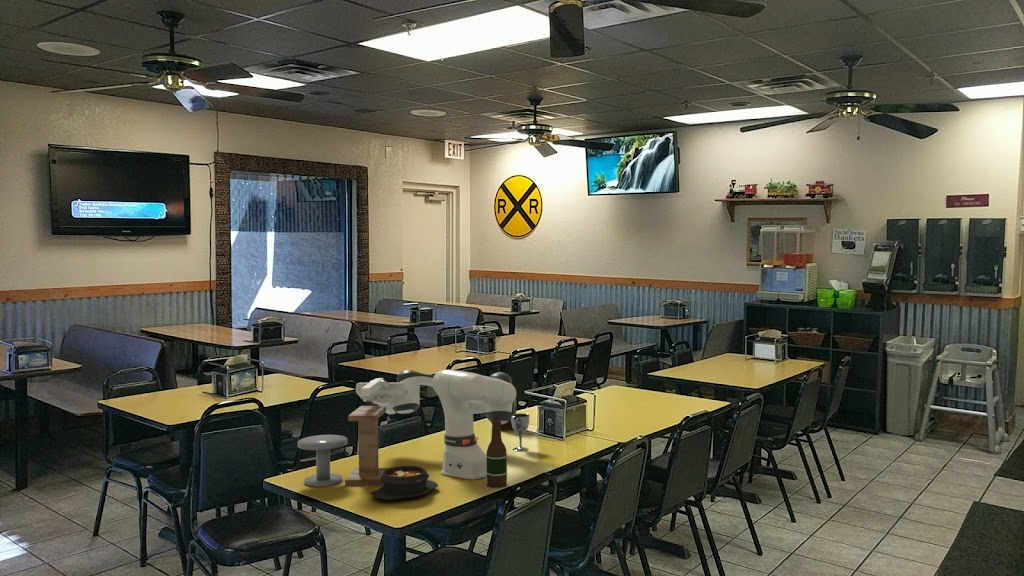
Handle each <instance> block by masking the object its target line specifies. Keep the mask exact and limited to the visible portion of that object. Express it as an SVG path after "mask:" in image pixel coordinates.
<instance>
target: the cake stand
mask: <svg viewBox="0 0 1024 576" xmlns="http://www.w3.org/2000/svg"><path fill="white" fill-rule="evenodd" d="M346 445H348V437H346V436H345V435H339V434H319V435H318V434H317V435H311V436H306V437H303V438H300V439H299V440H298V441H297V447H298V449H301V450H304V451H315V461H316V462H315V463H316V464H315V467H316V471H315V472H316V474H313V475H309V476H306V477H305V478H304V479H303V483H305V484H306V485H305V484H304V485H305V486H307V485H308V486H307V487H311V486H314V487H313V488H321V487H320V486H323V487H324V486H325V487H331V486H335V485H338V484H340V483H342V482H343V475H341V474H338V473H334V472H333V473H332V472H331V453H330V452H331V450H333V449H339V448H342V447H344V446H346ZM323 487H322V488H323ZM325 487H324V488H325Z"/></svg>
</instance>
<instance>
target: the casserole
mask: <svg viewBox="0 0 1024 576" xmlns="http://www.w3.org/2000/svg"><path fill="white" fill-rule="evenodd" d="M388 468H389V469H386V470H385V471H384V472H383V475H382V477H381V478H380V479H381V481H382V482H383V485H381V486H380V487H379V488H377V489H375V490H372V491H371V492H370V495H371V496H372V497H374V498H376V499H379V500H384V501H385V500H386V501H390V500H397V499H398V500H409V499H415V498H417V497H420V496H423V495H425V494H428V493H429V492H430V491H432V490H434V489H436V488H438V487H439V484H438V483H437V482H436V481H433V480H429V478H430V474H429V473H428V472H427V469H426V468H425V467H422V466H418V465H399V466H393V467H392V466H391V467H388Z"/></svg>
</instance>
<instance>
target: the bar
mask: <svg viewBox="0 0 1024 576" xmlns="http://www.w3.org/2000/svg"><path fill="white" fill-rule="evenodd" d="M370 381H371V382H370ZM370 381H369V382H367V383H368V384H367V385H365V386H364V387H362V388H361V396H370V395H371V394H373V393H374V392H375V391H377V390H378V389H379V388H381V387H382V386H381V381H384V377H378V378H377V377H376V378H375V379H372V380H370Z"/></svg>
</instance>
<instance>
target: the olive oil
mask: <svg viewBox="0 0 1024 576" xmlns="http://www.w3.org/2000/svg"><path fill="white" fill-rule="evenodd" d="M517 397H518V396H516V398H515V400H514V402H513V403H512V414H517V401H518V400H517ZM500 426H501V430H512V431H514V430H513V427H512V422H511V420H510V421H509V422H507V423H504V424H500Z"/></svg>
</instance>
